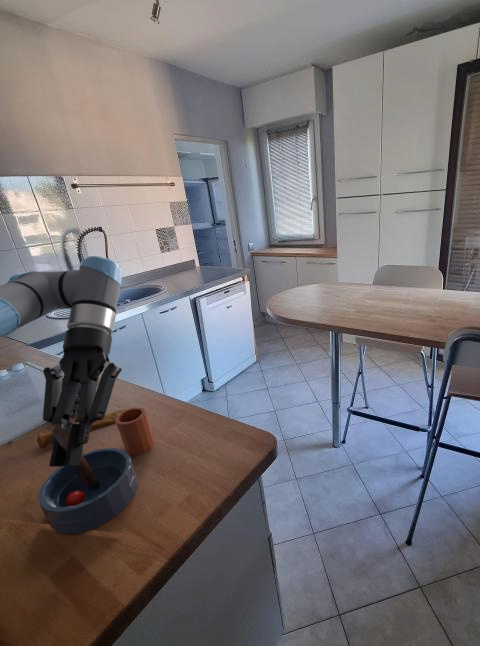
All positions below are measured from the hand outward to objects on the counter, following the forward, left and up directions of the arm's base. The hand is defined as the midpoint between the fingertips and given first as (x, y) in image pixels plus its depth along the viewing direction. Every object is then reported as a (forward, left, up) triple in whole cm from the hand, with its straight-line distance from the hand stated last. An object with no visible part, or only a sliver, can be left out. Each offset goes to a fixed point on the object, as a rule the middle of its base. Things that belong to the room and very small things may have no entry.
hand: (64, 465), depth 54 cm
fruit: (-30, +30, -13) cm, 45 cm away
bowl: (-1, +4, -12) cm, 13 cm away
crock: (-1, +18, -12) cm, 22 cm away
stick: (-1, +4, -9) cm, 10 cm away
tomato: (-3, +2, -10) cm, 11 cm away
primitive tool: (-19, +23, -13) cm, 33 cm away
